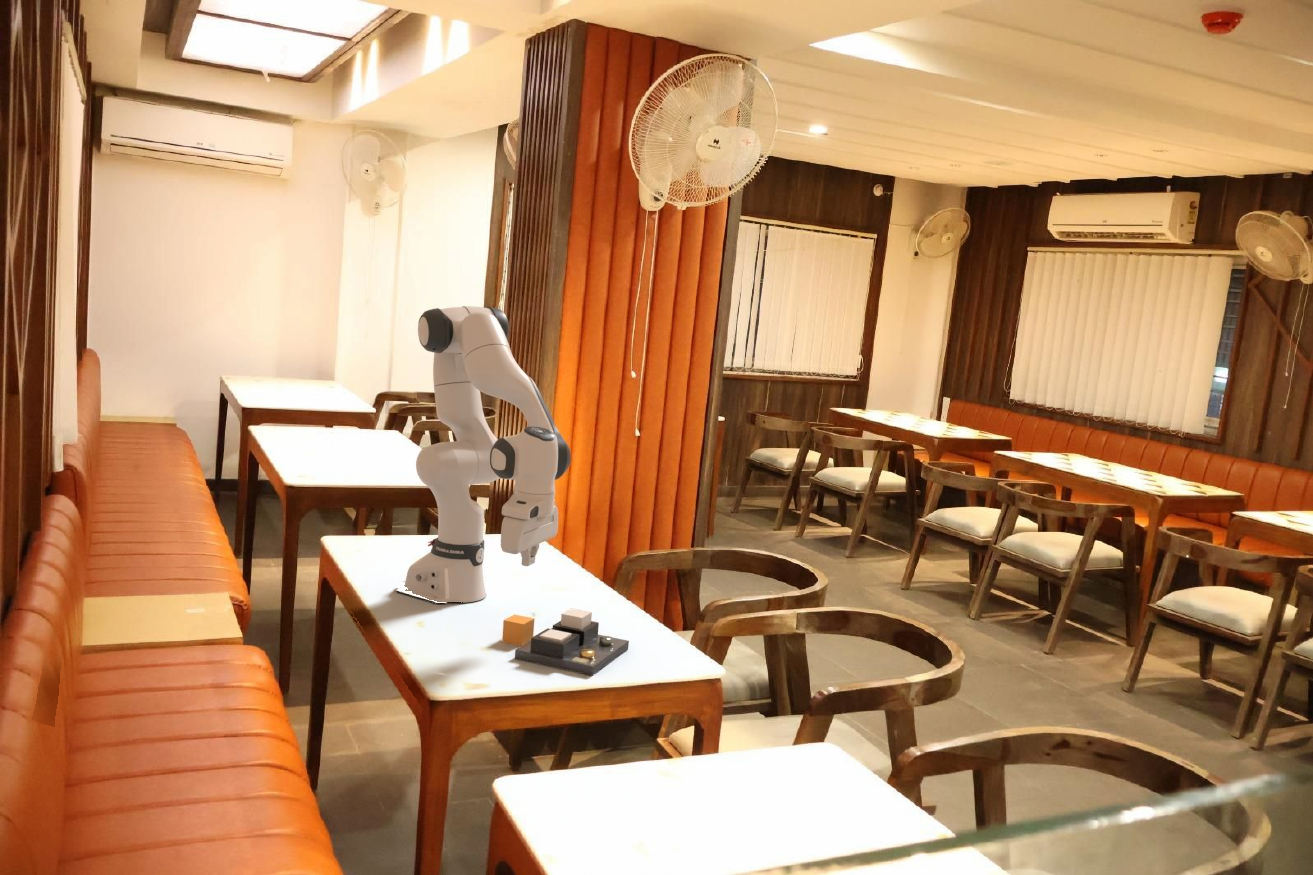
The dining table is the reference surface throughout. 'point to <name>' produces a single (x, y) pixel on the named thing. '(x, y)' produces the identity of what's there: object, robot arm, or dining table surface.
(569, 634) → the block
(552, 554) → the dining table surface
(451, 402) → the robot arm
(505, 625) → the block
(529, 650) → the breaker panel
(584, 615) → the block
